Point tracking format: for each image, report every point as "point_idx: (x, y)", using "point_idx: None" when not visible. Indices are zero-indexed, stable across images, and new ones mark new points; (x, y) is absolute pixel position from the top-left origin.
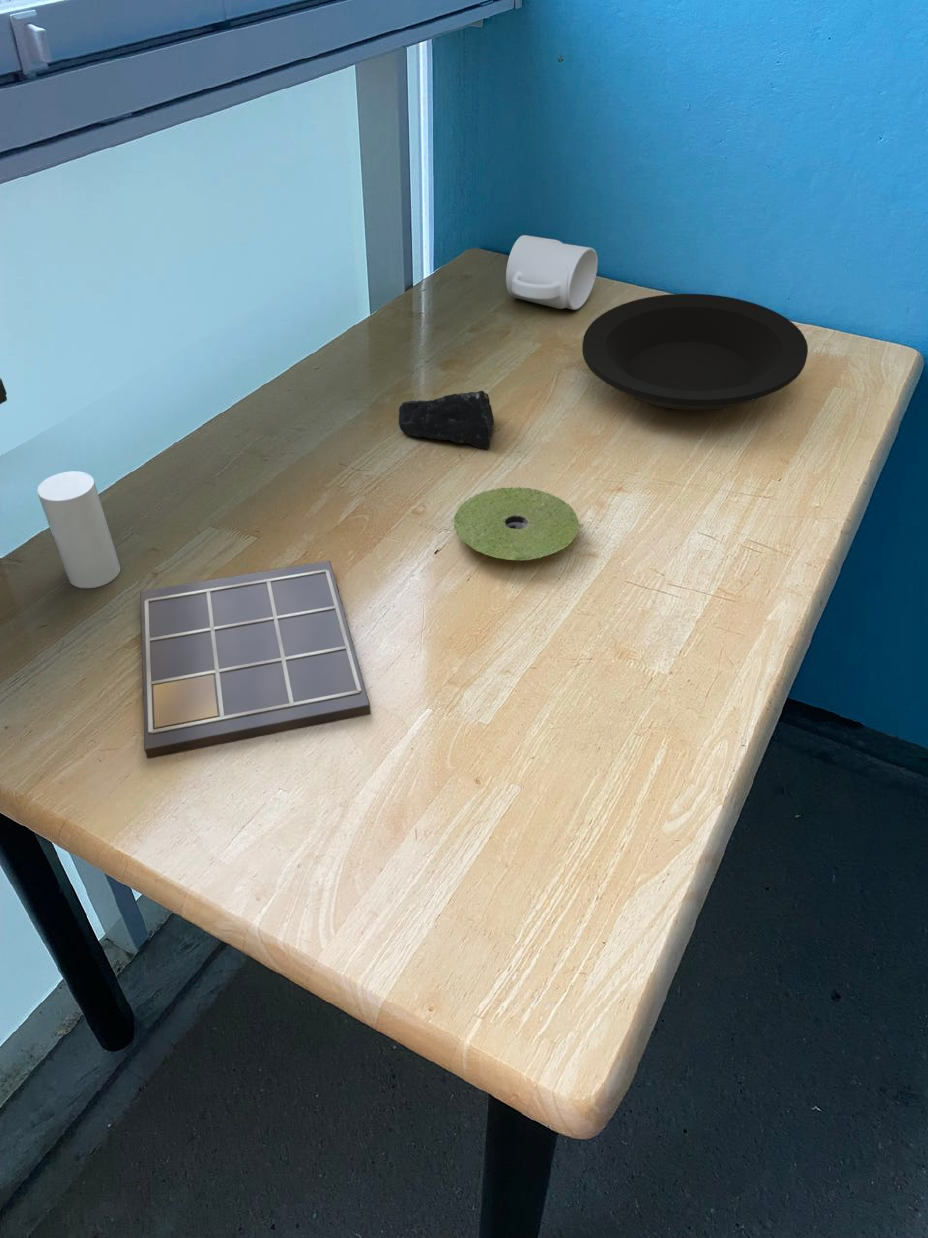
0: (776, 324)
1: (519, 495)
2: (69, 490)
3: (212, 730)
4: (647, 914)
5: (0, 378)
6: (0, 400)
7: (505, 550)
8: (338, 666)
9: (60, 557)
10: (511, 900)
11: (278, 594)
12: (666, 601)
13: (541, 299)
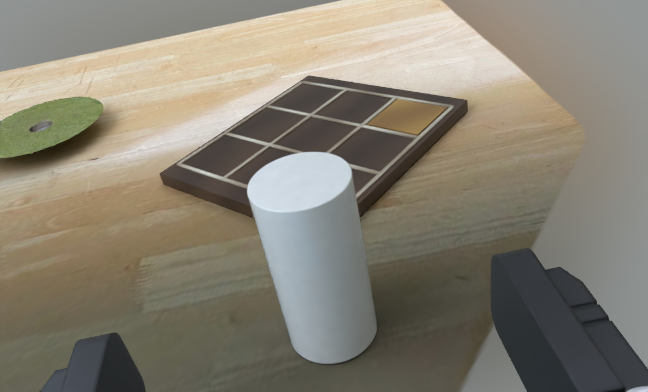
0: None
1: None
2: (305, 168)
3: (410, 93)
4: (332, 5)
5: (47, 383)
6: (140, 375)
7: (89, 110)
8: (289, 98)
9: (368, 299)
10: (368, 17)
11: (237, 163)
12: (100, 78)
13: None
